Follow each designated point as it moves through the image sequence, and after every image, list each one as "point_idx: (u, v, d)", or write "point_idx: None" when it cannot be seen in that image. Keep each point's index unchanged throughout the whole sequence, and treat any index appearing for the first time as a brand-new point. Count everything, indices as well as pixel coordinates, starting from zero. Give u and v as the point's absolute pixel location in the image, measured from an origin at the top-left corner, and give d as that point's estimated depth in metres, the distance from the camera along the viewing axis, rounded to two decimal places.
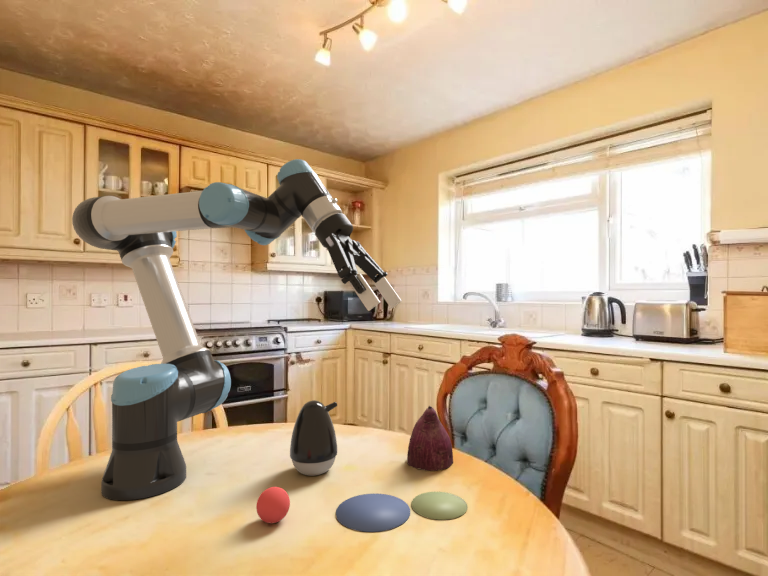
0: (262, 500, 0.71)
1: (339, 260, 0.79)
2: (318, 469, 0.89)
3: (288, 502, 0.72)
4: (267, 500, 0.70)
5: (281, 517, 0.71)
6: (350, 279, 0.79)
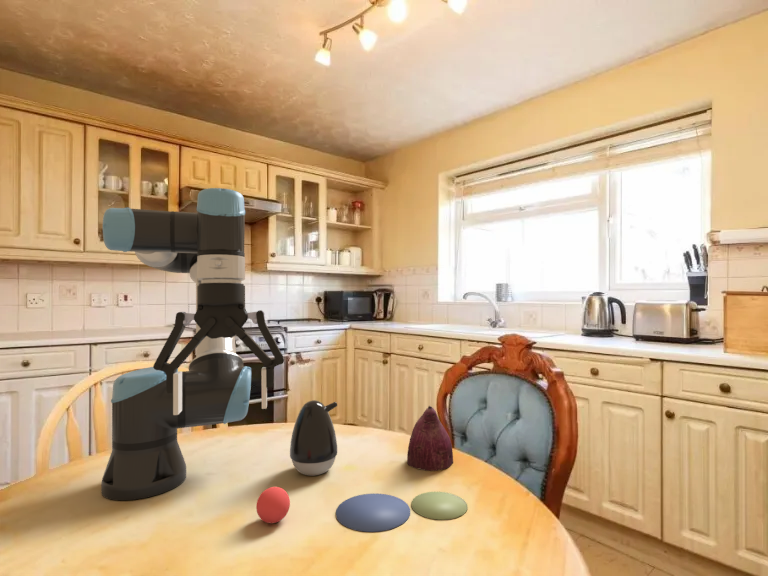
0: (262, 500, 0.71)
1: None
2: (318, 469, 0.89)
3: (288, 502, 0.72)
4: (267, 500, 0.70)
5: (281, 517, 0.71)
6: None
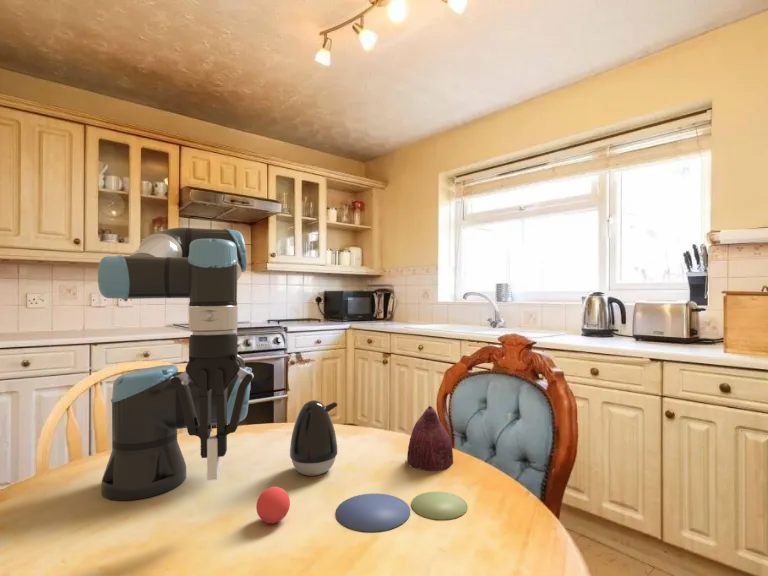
0: (262, 500, 0.71)
1: None
2: (318, 469, 0.89)
3: (288, 502, 0.72)
4: (267, 500, 0.70)
5: (281, 517, 0.71)
6: None
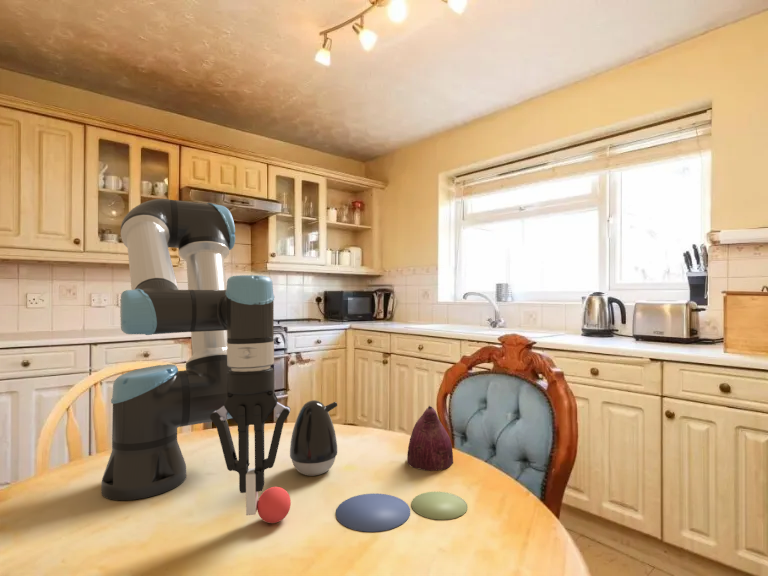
0: (263, 500, 0.71)
1: None
2: (318, 469, 0.89)
3: (289, 502, 0.72)
4: (268, 500, 0.70)
5: (282, 517, 0.71)
6: None
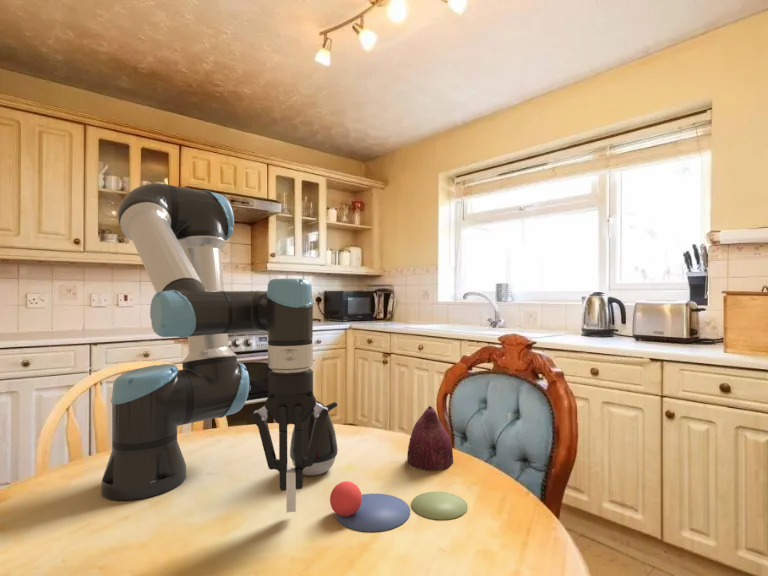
0: (342, 515, 0.72)
1: None
2: (318, 469, 0.89)
3: (337, 488, 0.73)
4: (339, 512, 0.72)
5: (350, 491, 0.73)
6: None
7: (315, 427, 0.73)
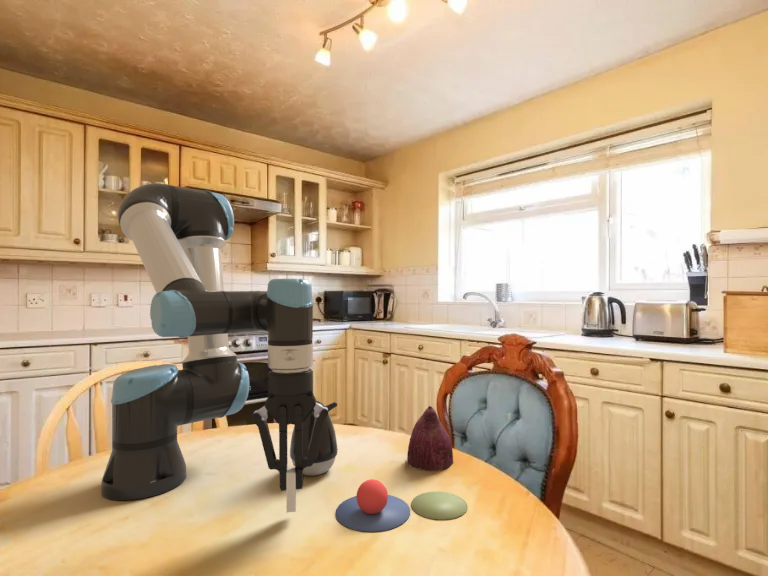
0: (362, 496, 0.73)
1: None
2: (318, 469, 0.89)
3: (385, 489, 0.75)
4: (366, 494, 0.73)
5: (384, 505, 0.74)
6: None
7: (315, 427, 0.73)
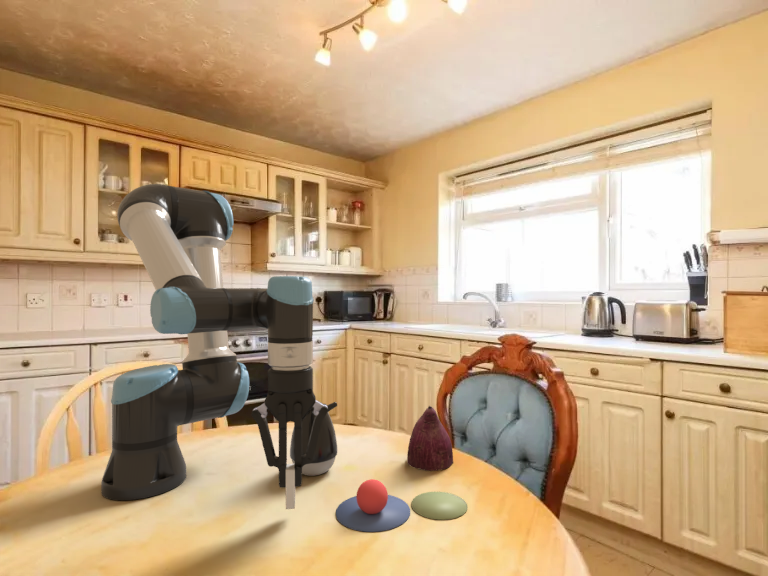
0: (362, 496, 0.73)
1: None
2: (318, 469, 0.89)
3: (385, 489, 0.75)
4: (366, 494, 0.73)
5: (384, 505, 0.74)
6: None
7: (315, 425, 0.73)
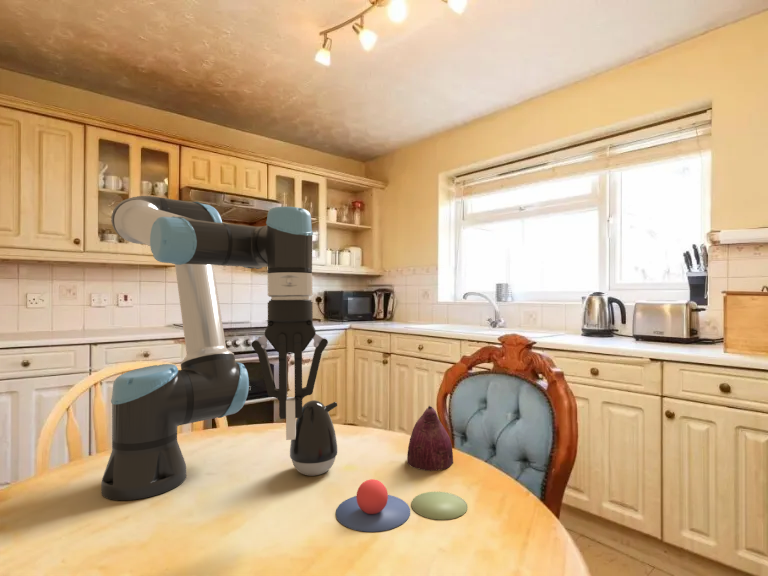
0: (362, 496, 0.73)
1: None
2: (318, 469, 0.89)
3: (385, 489, 0.75)
4: (366, 494, 0.73)
5: (384, 505, 0.74)
6: None
7: (315, 356, 0.73)
